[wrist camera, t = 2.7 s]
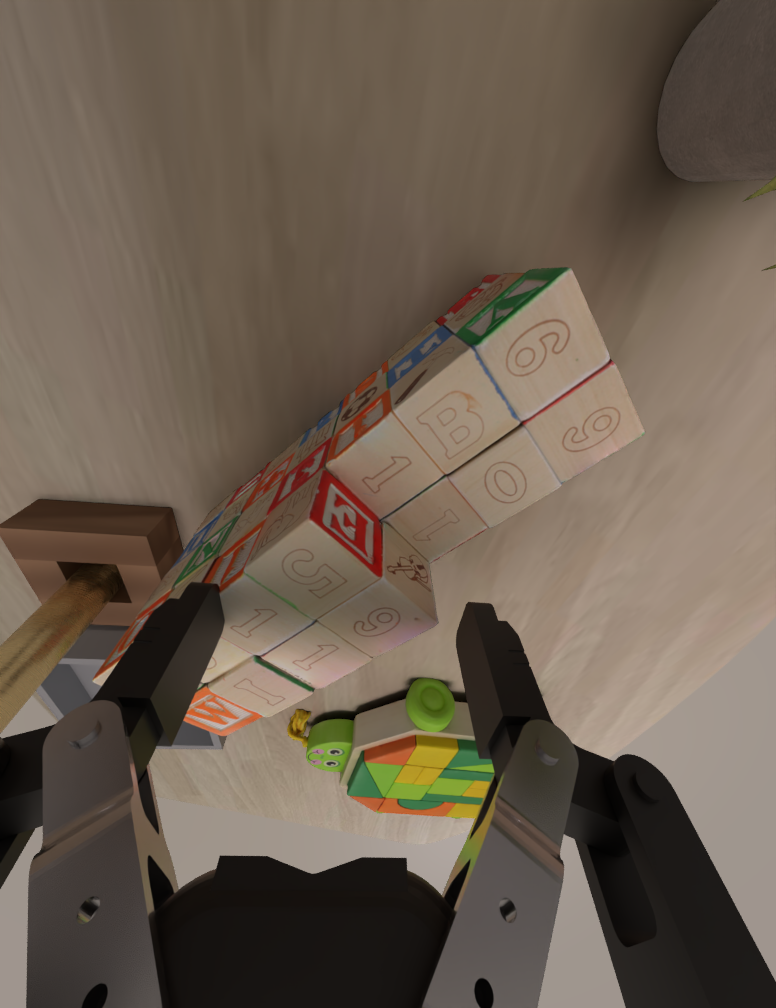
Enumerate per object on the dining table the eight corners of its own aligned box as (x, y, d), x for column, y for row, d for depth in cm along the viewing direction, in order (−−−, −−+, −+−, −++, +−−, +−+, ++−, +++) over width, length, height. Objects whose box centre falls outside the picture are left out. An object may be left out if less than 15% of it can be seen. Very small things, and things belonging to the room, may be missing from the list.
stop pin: (99, 536, 24) (-104, 726, 14) (138, 538, 24) (-34, 727, 14) (111, 564, 25) (-66, 756, 15) (148, 566, 25) (-3, 756, 15)
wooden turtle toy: (300, 658, 32) (287, 722, 28) (572, 690, 37) (601, 750, 32) (281, 763, 44) (269, 821, 39) (491, 778, 48) (503, 832, 43)
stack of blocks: (484, 268, 17) (656, 254, 7) (542, 373, 20) (729, 481, 9) (210, 509, 24) (82, 687, 13) (281, 562, 26) (220, 745, 16)
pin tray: (42, 622, 28) (9, 656, 26) (210, 629, 29) (195, 662, 27) (100, 714, 36) (79, 747, 33) (233, 716, 37) (222, 749, 34)
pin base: (38, 499, 22) (-5, 527, 20) (171, 508, 23) (146, 536, 20) (84, 589, 26) (53, 622, 24) (195, 595, 27) (176, 627, 25)
